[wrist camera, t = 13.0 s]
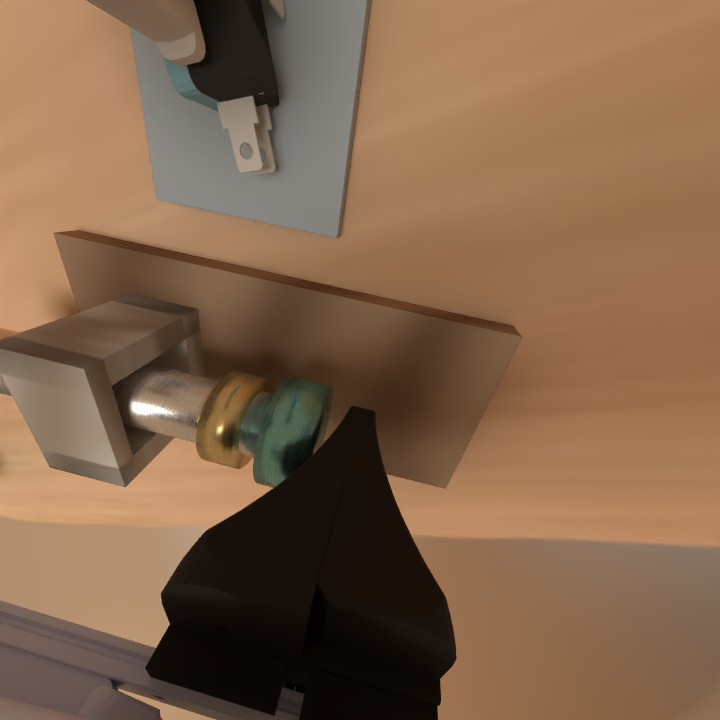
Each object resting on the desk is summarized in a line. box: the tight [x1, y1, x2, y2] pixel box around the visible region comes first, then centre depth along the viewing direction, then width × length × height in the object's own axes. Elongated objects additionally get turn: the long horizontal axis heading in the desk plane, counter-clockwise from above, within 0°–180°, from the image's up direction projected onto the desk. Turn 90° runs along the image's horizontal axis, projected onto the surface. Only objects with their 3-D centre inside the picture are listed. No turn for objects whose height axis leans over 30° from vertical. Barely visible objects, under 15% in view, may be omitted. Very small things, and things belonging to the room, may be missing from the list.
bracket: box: [0, 230, 522, 489], centre depth 12 cm, size 19×9×6 cm, turn 80°
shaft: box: [0, 328, 333, 488], centre depth 11 cm, size 15×4×4 cm, turn 80°
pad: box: [130, 0, 371, 238], centre depth 9 cm, size 7×9×1 cm
